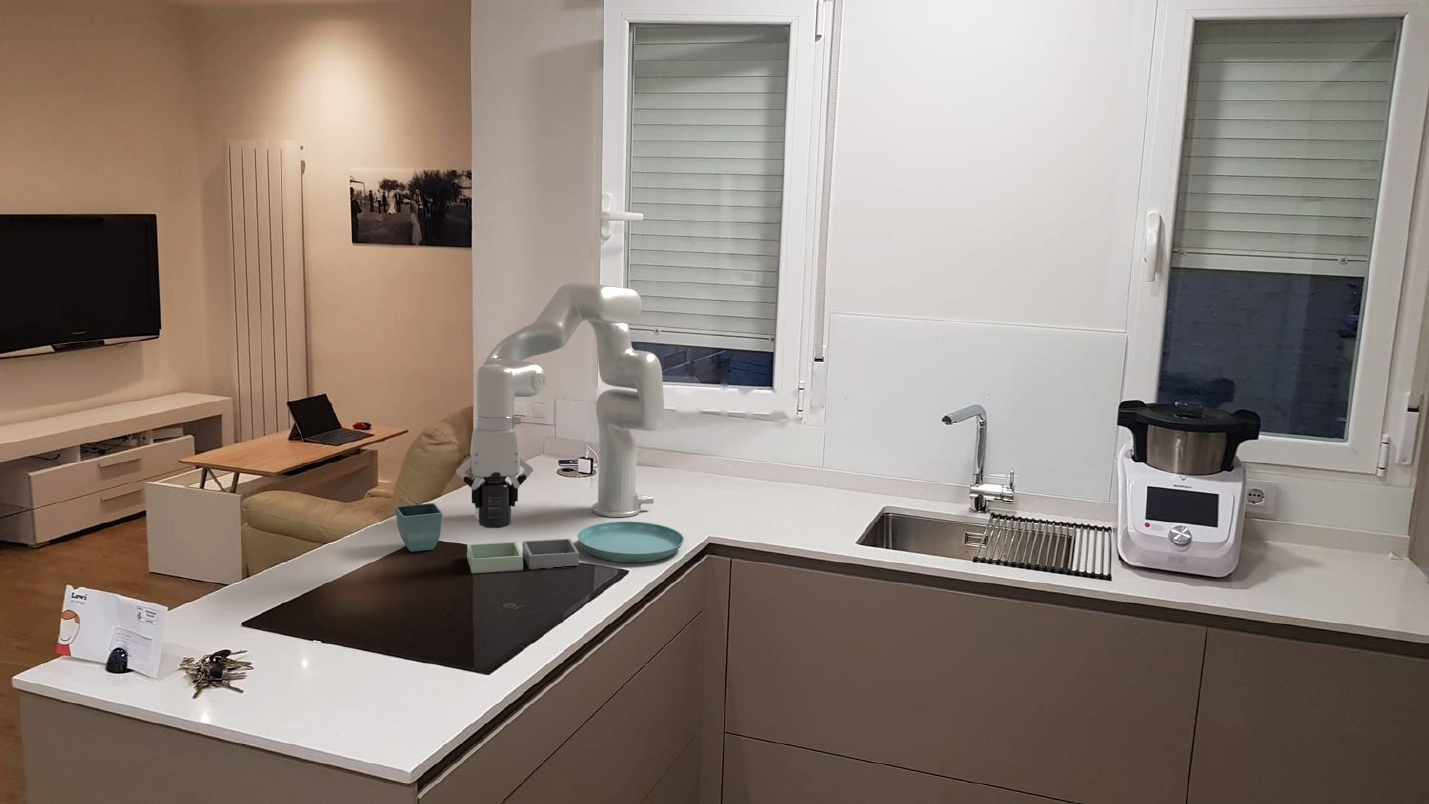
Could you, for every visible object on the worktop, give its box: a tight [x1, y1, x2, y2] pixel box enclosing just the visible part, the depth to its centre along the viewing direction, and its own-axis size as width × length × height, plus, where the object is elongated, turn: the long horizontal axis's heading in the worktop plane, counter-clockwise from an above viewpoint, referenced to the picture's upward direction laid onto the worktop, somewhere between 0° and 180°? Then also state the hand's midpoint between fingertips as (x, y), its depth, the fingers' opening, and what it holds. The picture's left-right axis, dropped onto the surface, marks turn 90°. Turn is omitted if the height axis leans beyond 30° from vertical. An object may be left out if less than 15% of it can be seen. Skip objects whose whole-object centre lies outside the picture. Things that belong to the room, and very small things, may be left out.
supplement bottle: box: [478, 472, 512, 529], centre depth 224 cm, size 7×7×12 cm
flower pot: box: [394, 502, 444, 553], centre depth 234 cm, size 9×9×9 cm
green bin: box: [466, 541, 524, 574], centre depth 226 cm, size 11×11×3 cm
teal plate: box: [577, 521, 685, 563], centre depth 240 cm, size 24×24×3 cm
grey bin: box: [522, 538, 580, 570], centre depth 230 cm, size 11×11×3 cm
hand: (494, 505), depth 224 cm, fingers closed on supplement bottle, 6 cm apart
